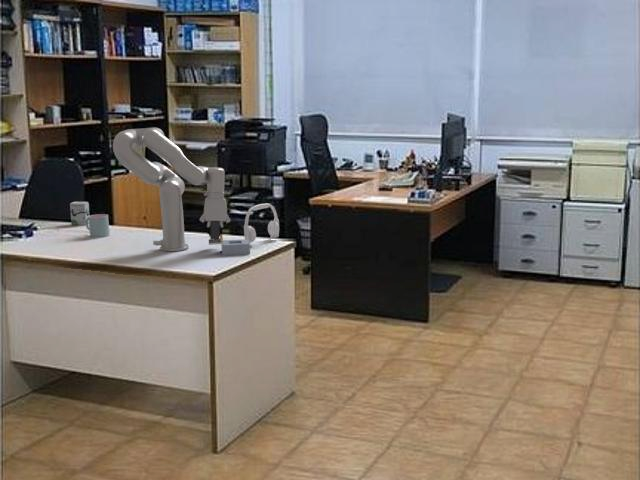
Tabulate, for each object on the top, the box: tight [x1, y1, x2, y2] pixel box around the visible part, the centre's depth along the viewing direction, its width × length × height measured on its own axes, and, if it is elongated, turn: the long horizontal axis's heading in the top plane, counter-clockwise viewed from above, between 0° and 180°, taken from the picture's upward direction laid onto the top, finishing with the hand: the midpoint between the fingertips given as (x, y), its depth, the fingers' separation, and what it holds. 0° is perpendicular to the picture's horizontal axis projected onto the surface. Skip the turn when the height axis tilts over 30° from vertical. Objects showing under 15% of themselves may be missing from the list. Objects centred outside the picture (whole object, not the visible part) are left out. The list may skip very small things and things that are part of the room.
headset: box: [243, 202, 280, 244], centre depth 382 cm, size 20×7×18 cm, turn 138°
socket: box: [221, 238, 251, 256], centre depth 363 cm, size 12×10×4 cm
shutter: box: [208, 233, 224, 246], centre depth 361 cm, size 6×8×3 cm
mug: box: [85, 213, 110, 239], centre depth 406 cm, size 14×9×10 cm
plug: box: [209, 221, 220, 239], centre depth 371 cm, size 4×4×9 cm
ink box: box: [69, 201, 90, 226], centre depth 437 cm, size 9×5×12 cm, turn 81°
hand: (214, 235), depth 372 cm, fingers closed on plug, 4 cm apart
